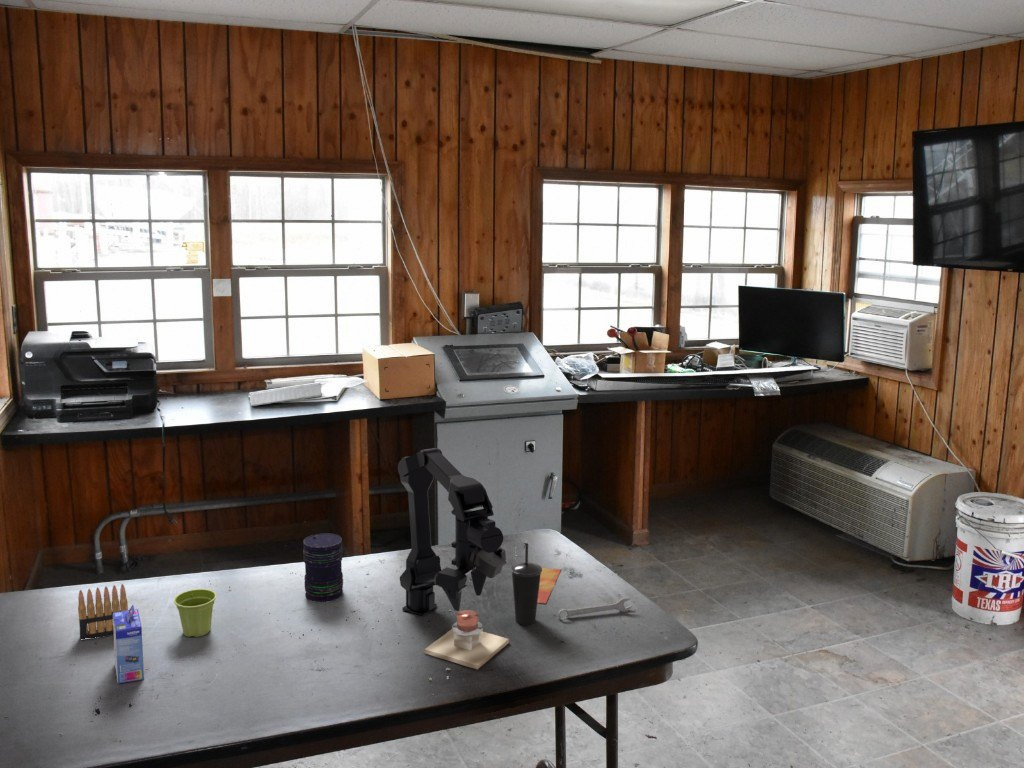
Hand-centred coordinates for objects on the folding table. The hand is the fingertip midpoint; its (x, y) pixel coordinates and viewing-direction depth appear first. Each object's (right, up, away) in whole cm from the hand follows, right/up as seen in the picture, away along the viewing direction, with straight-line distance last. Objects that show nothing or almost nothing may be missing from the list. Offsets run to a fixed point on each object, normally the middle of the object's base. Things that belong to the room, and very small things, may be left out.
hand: (467, 602), depth 200 cm
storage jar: (-39, -5, +29) cm, 49 cm away
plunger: (0, -10, +2) cm, 10 cm away
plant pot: (-64, -9, +8) cm, 66 cm away
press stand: (0, -11, +2) cm, 11 cm away
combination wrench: (+31, -8, +20) cm, 38 cm away
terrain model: (+9, -4, +39) cm, 40 cm away
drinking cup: (+13, -9, +16) cm, 23 cm away
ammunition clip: (-85, -9, +6) cm, 86 cm away
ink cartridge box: (-72, -13, -10) cm, 74 cm away
